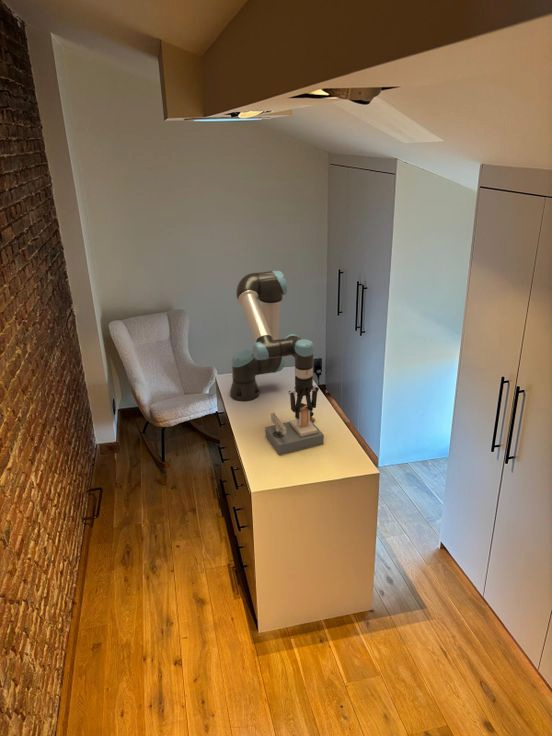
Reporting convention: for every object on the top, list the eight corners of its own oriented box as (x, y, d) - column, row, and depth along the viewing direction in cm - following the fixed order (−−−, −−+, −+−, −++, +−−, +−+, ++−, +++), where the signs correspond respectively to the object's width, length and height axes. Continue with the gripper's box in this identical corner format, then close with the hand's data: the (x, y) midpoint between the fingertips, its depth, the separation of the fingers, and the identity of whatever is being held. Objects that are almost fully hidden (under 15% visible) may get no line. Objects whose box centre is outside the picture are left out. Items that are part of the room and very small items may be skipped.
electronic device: (309, 424, 254) (309, 410, 250) (294, 417, 260) (294, 403, 257) (315, 421, 256) (316, 407, 253) (301, 414, 263) (301, 400, 260)
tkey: (282, 442, 231) (282, 429, 228) (270, 426, 242) (270, 413, 240) (286, 441, 231) (286, 428, 228) (274, 425, 243) (274, 412, 240)
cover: (289, 423, 245) (289, 405, 241) (305, 419, 247) (305, 401, 243) (300, 436, 235) (301, 417, 231) (317, 432, 237) (317, 413, 233)
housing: (265, 436, 245) (265, 426, 243) (307, 426, 252) (307, 417, 250) (279, 455, 231) (279, 445, 229) (323, 444, 239) (323, 434, 236)
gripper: (289, 383, 224) (289, 431, 234) (325, 375, 230) (324, 423, 240) (282, 375, 230) (282, 423, 240) (317, 368, 236) (316, 415, 246)
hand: (303, 423), depth 240 cm, fingers closed on cover, 3 cm apart
